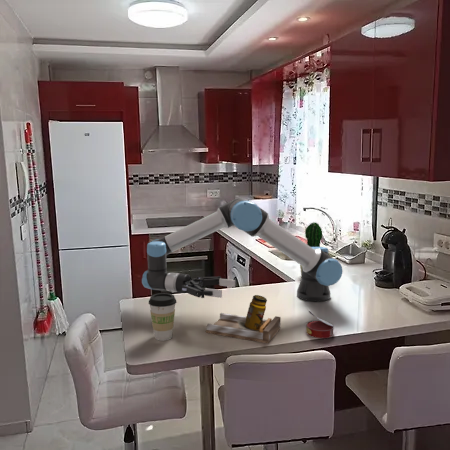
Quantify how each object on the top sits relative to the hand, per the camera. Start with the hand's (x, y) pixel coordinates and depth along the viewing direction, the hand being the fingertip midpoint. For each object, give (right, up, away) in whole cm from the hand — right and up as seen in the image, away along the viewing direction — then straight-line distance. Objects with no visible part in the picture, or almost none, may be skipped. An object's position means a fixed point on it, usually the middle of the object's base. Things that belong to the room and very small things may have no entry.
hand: (228, 288), depth 170 cm
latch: (+13, -15, -7) cm, 21 cm away
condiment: (+8, -14, -5) cm, 16 cm away
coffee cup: (-24, -16, -9) cm, 30 cm away
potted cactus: (+45, -4, +67) cm, 81 cm away
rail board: (+6, -15, -3) cm, 16 cm away
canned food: (+34, -16, -5) cm, 37 cm away
